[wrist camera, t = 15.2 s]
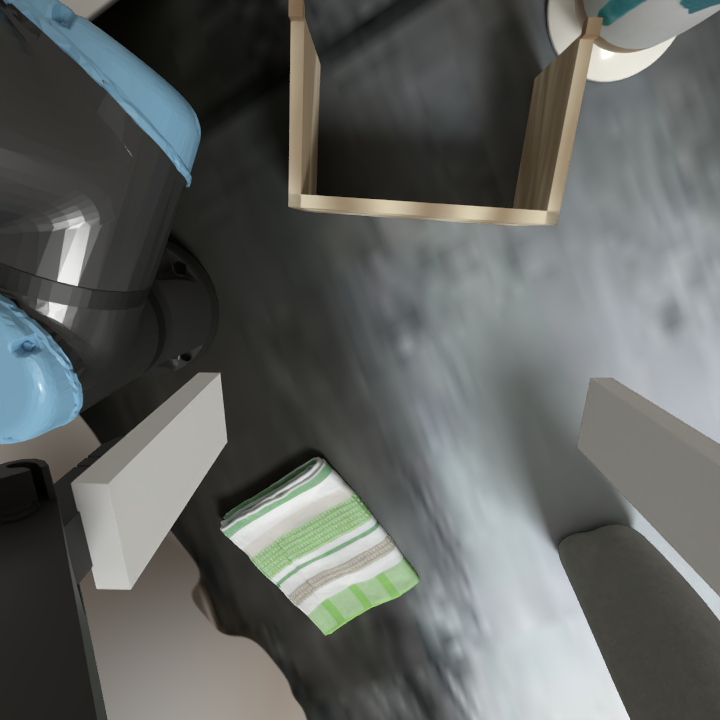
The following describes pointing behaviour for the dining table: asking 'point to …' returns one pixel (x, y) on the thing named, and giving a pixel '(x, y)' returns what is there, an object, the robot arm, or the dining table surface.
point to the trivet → (602, 62)
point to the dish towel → (320, 545)
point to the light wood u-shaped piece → (531, 204)
